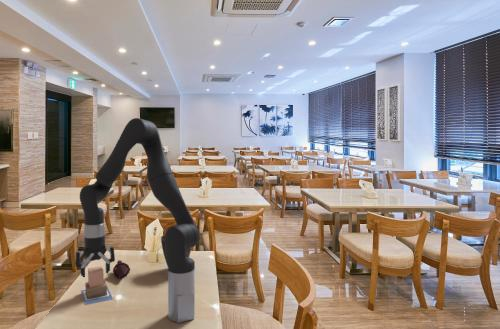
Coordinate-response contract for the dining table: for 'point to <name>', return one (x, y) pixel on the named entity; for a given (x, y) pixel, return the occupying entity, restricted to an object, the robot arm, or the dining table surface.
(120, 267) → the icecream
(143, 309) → the dining table surface
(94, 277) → the terracotta block
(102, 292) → the walnut base
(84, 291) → the blueprint mat
